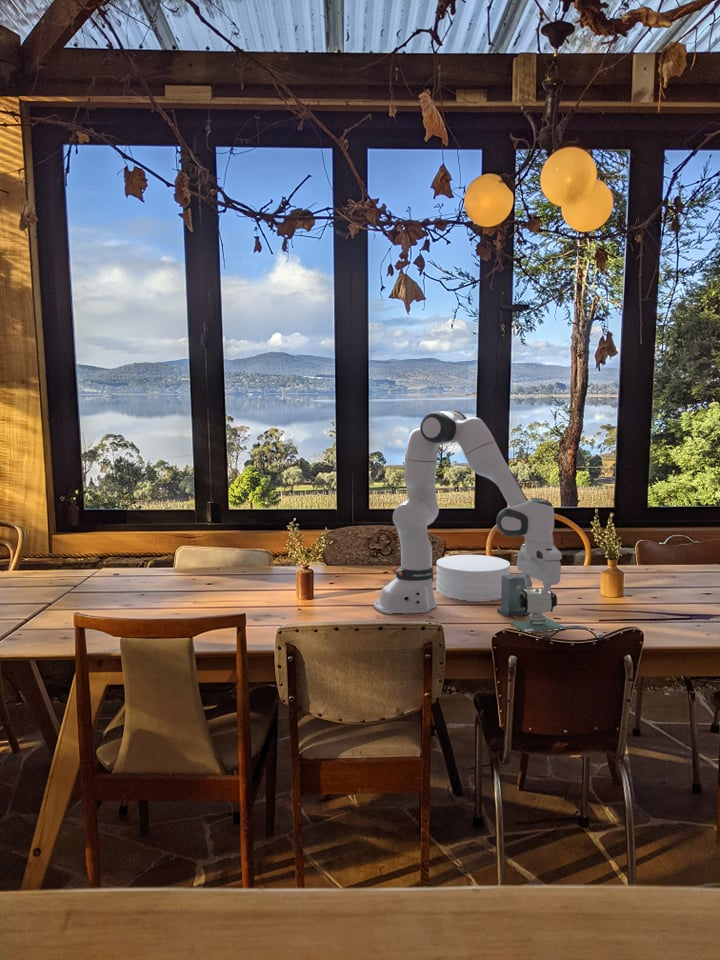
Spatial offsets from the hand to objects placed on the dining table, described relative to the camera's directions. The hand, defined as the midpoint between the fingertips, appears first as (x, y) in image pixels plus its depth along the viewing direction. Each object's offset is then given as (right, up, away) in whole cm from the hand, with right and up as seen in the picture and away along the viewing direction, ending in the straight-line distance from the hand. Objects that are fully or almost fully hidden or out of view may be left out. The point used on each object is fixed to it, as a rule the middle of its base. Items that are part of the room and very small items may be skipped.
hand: (536, 591), depth 219 cm
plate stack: (-13, -8, +44) cm, 47 cm away
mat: (+1, -12, +1) cm, 12 cm away
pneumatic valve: (+1, -11, +2) cm, 11 cm away
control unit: (-4, -10, +15) cm, 19 cm away
